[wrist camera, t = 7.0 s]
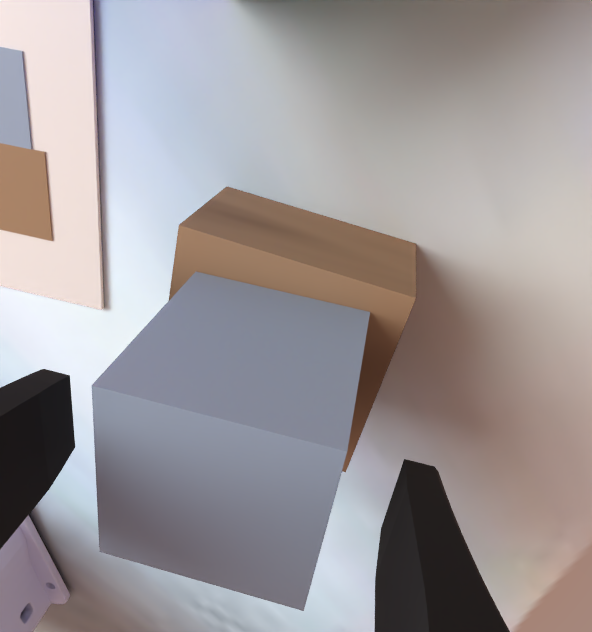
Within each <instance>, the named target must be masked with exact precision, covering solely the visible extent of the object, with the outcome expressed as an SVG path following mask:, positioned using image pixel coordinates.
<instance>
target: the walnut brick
mask: <svg viewBox="0 0 592 632" xmlns="http://www.w3.org/2000/svg"><path fill="white" fill-rule="evenodd" d="M195 272H200V273H204V274H209V275H213V276H217V277H222V278H226V279H230V280H234V281H239V282H243V283H247V284H252V285H256V286H260V287H265V288H269V289H273V290H278V291H282V292H286V293H290V294H295V295H299V296H303V297H308V298H312V299H316V300H321V301H325V302H329V303H334V304H338V305H342V306H347V307H351V308H355V309H359V310H364V311H368V312H370V316H369V322H368V328H367V334H366V340H365V346H364V352H363V359H362V365H361V371H360V377H359V383H358V389H357V395H356V401H355V407H354V413H353V420H352V426H351V432H350V438H349V444H348V450H347V454H346V458H345V462H344V465H343V469H342V471H343V472H346V470H347V467H348V465H349V462H350V460H351V457H352V455H353V452H354V450H355V447H356V445H357V442H358V440H359V438H360V435H361V433H362V430H363V428H364V425H365V423H366V420H367V418H368V415H369V413H370V410H371V408H372V405H373V403H374V401H375V398H376V396H377V393H378V391H379V388H380V386H381V383H382V381H383V378H384V376H385V373H386V371H387V368H388V366H389V364H390V361H391V359H392V356H393V354H394V351H395V349H396V346H397V344H398V341H399V339H400V336H401V334H402V331H403V329H404V327H405V324H406V322H407V319H408V317H409V314H410V312H411V309H412V307H413V304H414V302H415V299H416V244H415V243H412V242H408V241H405V240H402V239H398V238H395V237H392V236H389V235H385V234H382V233H379V232H375V231H372V230H369V229H365V228H362V227H359V226H356V225H352V224H349V223H346V222H342V221H339V220H336V219H332V218H329V217H326V216H323V215H319V214H316V213H313V212H309V211H306V210H303V209H299V208H296V207H293V206H290V205H286V204H283V203H280V202H276V201H273V200H270V199H266V198H263V197H260V196H257V195H253V194H250V193H247V192H243V191H240V190H237V189H233V188H230V187H226V188H224V189H223V190H222V191H221V192H219V193H218V194H217V195H216V196H214V197H213V198H212V199H211V200H209V201H208V202H207V203H206V204H205V205H203V206H202V207H201V208H200V209H198V210H197V211H196V212H195V213H193V214H192V215H191V216H190V217H188V218H187V219H186V220H185V221H183V222H182V223H181V224H180V225H179V229H178V236H177V244H176V251H175V259H174V266H173V273H172V281H171V288H170V295H169V300H170V299H171V298H172V297H173V296H174V295H175V294H176V293H177V292H178V290H179V289H180V288H181V287H182V286H183V285H184V284H185V283H186V282H187V281H188V279H189V278H190V277H191V276H192V275H193V274H194V273H195Z"/></svg>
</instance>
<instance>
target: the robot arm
mask: <svg viewBox="0 0 592 632" xmlns="http://www.w3.org/2000/svg"><path fill="white" fill-rule="evenodd" d="M74 448H75V440H74V427H73V414H72V401H71V388H70V375H66V374H62V373H58V372H54V371H50V370H46V369H42V370H39V371H37V372H35V373H32V374H30V375H28V376H25V377H23V378H21V379H19V380H16V381H14V382H12V383H10V384H8V385H6V386H3V387H1V388H0V632H33V631H34V629H35V628H36V626H37V625H38V623H39V622H40V620H41V618H42V617H43V615H44V614H45V612H46V611H47V609H48V608H49V606H50V604H65V603H66V602H67V601H68V599H69V597H70V594H69V591H68V589H67V587H66V585H65V584H64V582H63V580H62V578H61V576H60V574H59V572H58V570H57V568H56V566H55V564H54V563H53V561H52V559H51V557H50V555H49V553H48V551H47V549H46V547H45V545H44V543H43V542H42V540H41V538H40V536H39V534H38V532H37V530H36V528H35V526H34V524H33V522H32V520H31V519H30V517H29V514H30V512H31V511H32V510H33V509H34V507H35V506H36V505H37V504H38V502H39V501H40V500H41V499H42V497H43V496H44V495H45V494H46V492H47V491H48V490H49V488H50V487H51V485H52V484H53V482H54V481H55V479H56V477H57V476H58V474H59V473H60V471H61V470H62V468H63V466H64V465H65V463H66V461H67V460H68V458H69V456H70V455H71V453H72V451H73V450H74ZM375 632H510V631H509V629H508V627H507V626H506V624H505V622H504V620H503V618H502V616H501V614H500V612H499V611H498V609H497V607H496V605H495V603H494V601H493V599H492V597H491V595H490V593H489V591H488V589H487V587H486V585H485V583H484V581H483V579H482V577H481V575H480V573H479V571H478V568H477V566H476V564H475V562H474V560H473V557H472V555H471V553H470V551H469V549H468V546H467V544H466V542H465V540H464V537H463V535H462V533H461V530H460V528H459V526H458V523H457V521H456V518H455V516H454V513H453V511H452V508H451V506H450V503H449V500H448V498H447V495H446V492H445V489H444V487H443V484H442V481H441V478H440V475H439V472H438V471H437V469H436V468H435V467H434V466H430V465H426V464H422V463H418V462H414V461H410V460H406V459H404V462H403V465H402V468H401V471H400V474H399V477H398V480H397V483H396V486H395V489H394V492H393V495H392V498H391V501H390V504H389V507H388V510H387V513H386V516H385V519H384V522H383V525H382V528H381V535H380V543H379V551H378V560H377V569H376V578H375Z"/></svg>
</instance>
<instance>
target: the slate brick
mask: <svg viewBox="0 0 592 632" xmlns="http://www.w3.org/2000/svg"><path fill="white" fill-rule="evenodd" d="M369 316H370V312H368V311H364V310H359V309H355V308H351V307H347V306H342V305H338V304H334V303H329V302H325V301H321V300H316V299H312V298H308V297H303V296H299V295H295V294H290V293H286V292H282V291H278V290H273V289H269V288H265V287H260V286H256V285H252V284H247V283H243V282H239V281H234V280H230V279H226V278H222V277H217V276H213V275H209V274H204V273H200V272H195V273H194V274H193V275H192V276H191V277H190V278H189V279H188V281H187V282H186V283H185V284H184V285H183V286H182V287H181V288H180V289H179V290H178V292H177V293H176V294H175V295H174V296H173V297H172V298H171V299H170V300H169V301H168V303H167V304H166V305H165V306H164V307H163V308H162V309H161V310H160V311H159V312H158V313H157V315H156V316H155V317H154V318H153V319H152V320H151V321H150V322H149V323H148V324H147V326H146V327H145V328H144V329H143V330H142V331H141V332H140V333H139V334H138V335H137V337H136V338H135V339H134V340H133V341H132V342H131V343H130V344H129V345H128V346H127V347H126V349H125V350H124V351H123V352H122V353H121V354H120V355H119V356H118V357H117V358H116V360H115V361H114V362H113V363H112V364H111V365H110V366H109V367H108V368H107V369H106V371H105V372H104V373H103V374H102V375H101V376H100V377H99V378H98V379H97V380H96V381H95V383H94V384H93V385H92V400H93V422H94V443H95V464H96V485H97V506H98V527H99V548H100V552H103V553H106V554H110V555H113V556H116V557H120V558H123V559H127V560H130V561H134V562H137V563H141V564H144V565H147V566H151V567H154V568H158V569H161V570H165V571H168V572H172V573H175V574H178V575H182V576H185V577H189V578H192V579H196V580H199V581H203V582H206V583H209V584H213V585H216V586H220V587H223V588H227V589H230V590H233V591H237V592H240V593H244V594H247V595H251V596H254V597H258V598H261V599H264V600H268V601H271V602H275V603H278V604H282V605H285V606H289V607H292V608H295V609H299V610H302V611H304V607H305V604H306V600H307V596H308V593H309V589H310V585H311V582H312V578H313V574H314V571H315V567H316V563H317V560H318V556H319V553H320V549H321V545H322V542H323V538H324V534H325V531H326V527H327V523H328V520H329V516H330V513H331V509H332V505H333V502H334V498H335V494H336V491H337V487H338V483H339V480H340V476H341V473H342V469H343V465H344V462H345V458H346V454H347V450H348V444H349V438H350V432H351V426H352V420H353V413H354V407H355V401H356V395H357V389H358V383H359V377H360V371H361V365H362V359H363V352H364V346H365V340H366V334H367V328H368V322H369Z"/></svg>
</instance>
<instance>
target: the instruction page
mask: <svg viewBox="0 0 592 632" xmlns="http://www.w3.org/2000/svg"><path fill="white" fill-rule="evenodd" d="M0 286H3V287H7V288H11V289H15V290H20V291H24V292H28V293H32V294H37V295H41V296H45V297H49V298H54V299H58V300H62V301H66V302H70V303H75V304H79V305H83V306H87V307H92V308H96V309H100V310H102V309H103V308H104V297H103V270H102V242H101V215H100V187H99V160H98V132H97V105H96V77H95V49H94V22H93V0H0Z"/></svg>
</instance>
